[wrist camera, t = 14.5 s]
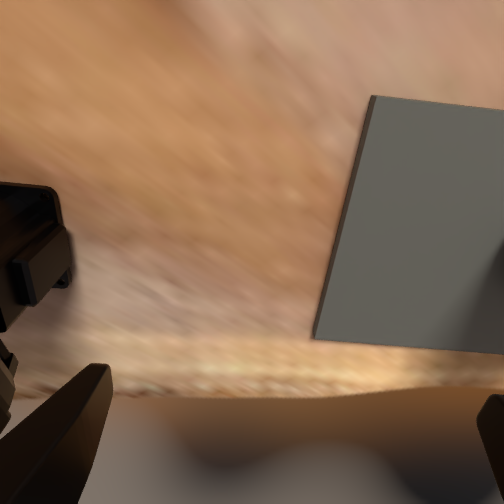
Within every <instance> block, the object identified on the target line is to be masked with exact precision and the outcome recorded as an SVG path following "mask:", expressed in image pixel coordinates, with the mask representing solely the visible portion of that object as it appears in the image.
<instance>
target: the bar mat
mask: <svg viewBox="0 0 504 504" xmlns="http://www.w3.org/2000/svg"><path fill="white" fill-rule="evenodd" d="M313 334H314V339H319V340H331V341H343V342H356V343H368V344H380V345H392V346H405V347H417V348H429V349H441V350H454V351H466V352H478V353H491V354H503V355H504V110H498V109H489V108H480V107H472V106H463V105H455V104H446V103H438V102H429V101H421V100H412V99H403V98H395V97H386V96H378V95H372V96H371V100H370V104H369V108H368V112H367V116H366V120H365V124H364V128H363V132H362V136H361V140H360V144H359V148H358V152H357V156H356V160H355V164H354V168H353V172H352V176H351V180H350V184H349V188H348V192H347V196H346V200H345V204H344V208H343V212H342V216H341V220H340V224H339V228H338V232H337V236H336V240H335V244H334V248H333V252H332V256H331V260H330V264H329V268H328V272H327V276H326V280H325V284H324V288H323V292H322V296H321V300H320V304H319V308H318V312H317V316H316V320H315V324H314V328H313Z"/></svg>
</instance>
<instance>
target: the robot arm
mask: <svg viewBox="0 0 504 504" xmlns="http://www.w3.org/2000/svg"><path fill="white" fill-rule="evenodd" d="M43 193H45V194H47V195H48V196H49V199H46V198H45V197H44V195H43ZM70 265H71V257H70V251H69V245H68V239H67V233H66V228H65V226H64V225H63V224H62V220H61V214H60V208H59V202H58V197H57V193H56V192H55V190H54V189H52V188H51V187H48V186H41V185H31V184H21V183H10V182H0V333H3V332H6V331H7V330H8V329H9V327H10V326H11V325H12V324H13V323H14V322H15V320H16V319H17V318H18V317H19V316H20V315H21V314H22V312H23V311H24V310H25V309H26V308H27V307H28V306H30V307H34V306H36V305H37V304H38V303H39V302H40V301H41V300H42V298H43V297H44V296H45V295H46V294H47V292H48V291H49V290H50V289H51V288H60V289H64V288H67V287H68V286H69V284H70V283H71V282H72V278H71V272H70ZM59 278H60V279H63V280H64V282H63V281H61V280H60V279H59ZM17 366H18V360H17V358H16V357H15V355H14V354H13V353H10V352H9V351H8V349H7V348H6V346H5V345H4V343H3V342H2V341H1V339H0V434H1V432H2V431H3V429H4V428H5V427H6V425H7V423H8V422H9V420H10V418H11V414H10V412H9V411H8V410H9V408H10V405H11V402H12V399H13V396H14V392H15V384H14V375H15V372H16V369H17ZM112 396H113V383H112V375H111V368H110V366H109V365H108V364H100V363H91V364H89V365H88V366H86V367H85V368H84V369H83V370H82V371H81V372H79V373H78V374H77V375H76V376H75V377H73V378H72V379H71V380H70V381H69V382H68V383H66V384H65V385H64V386H63V387H62V388H60V389H59V390H58V391H57V392H56V393H55V394H53V395H52V396H51V397H50V398H49V399H48V400H46V401H45V402H44V403H43V404H42V405H40V406H39V407H38V408H37V409H36V410H35V411H33V412H32V413H31V414H30V415H29V416H27V417H26V418H25V419H24V420H23V421H22V422H20V423H19V424H18V425H17V426H16V427H15V428H13V429H12V430H11V431H10V432H9V433H7V434H6V435H5V436H4V437H3V438H2V439H0V504H78V501H79V499H80V496H81V494H82V492H83V489H84V487H85V484H86V482H87V479H88V476H89V474H90V471H91V468H92V465H93V462H94V459H95V456H96V452H97V449H98V445H99V442H100V438H101V435H102V431H103V428H104V424H105V421H106V417H107V414H108V410H109V407H110V403H111V400H112ZM476 423H477V427H478V430H479V433H480V436H481V439H482V442H483V445H484V448H485V451H486V454H487V456H488V460H489V462H490V465H491V468H492V471H493V474H494V477H495V480H496V483H497V485H498V488H499V491H500V494H501V496H502V498H503V501H504V395H499V394H492V395H490V396H489V397H488V399H487V400H486V402H485V404H484V405H483V407H482V408H481V410H480V411H479V413H478V415H477V418H476Z"/></svg>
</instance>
